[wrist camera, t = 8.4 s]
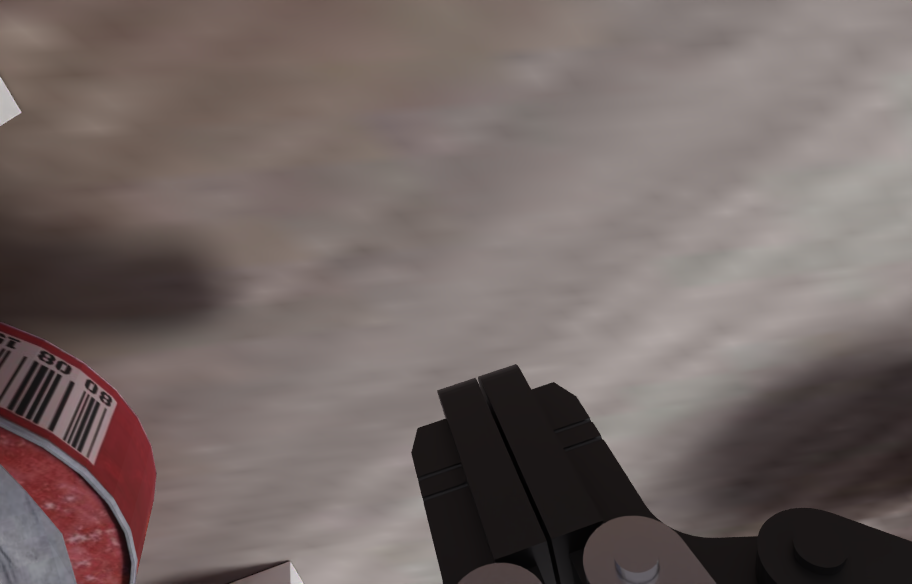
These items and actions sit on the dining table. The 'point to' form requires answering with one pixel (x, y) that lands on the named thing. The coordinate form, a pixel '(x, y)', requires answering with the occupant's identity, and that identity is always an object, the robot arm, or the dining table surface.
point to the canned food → (68, 470)
